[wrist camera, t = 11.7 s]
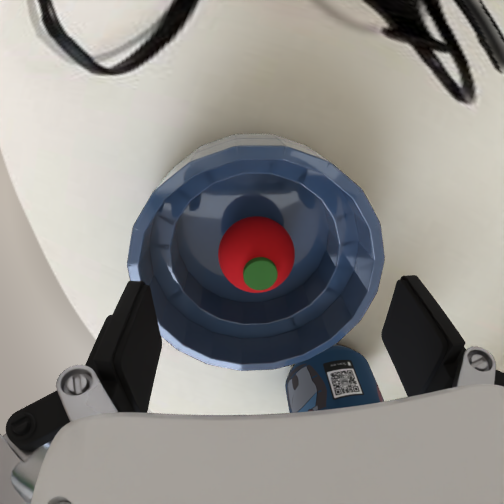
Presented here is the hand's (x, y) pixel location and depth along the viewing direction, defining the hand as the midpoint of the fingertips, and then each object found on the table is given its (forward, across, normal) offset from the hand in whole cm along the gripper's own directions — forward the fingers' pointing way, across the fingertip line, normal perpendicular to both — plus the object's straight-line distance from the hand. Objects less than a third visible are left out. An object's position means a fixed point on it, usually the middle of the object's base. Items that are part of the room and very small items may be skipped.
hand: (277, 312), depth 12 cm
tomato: (+8, 0, +1) cm, 8 cm away
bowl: (+8, 0, +1) cm, 8 cm away
